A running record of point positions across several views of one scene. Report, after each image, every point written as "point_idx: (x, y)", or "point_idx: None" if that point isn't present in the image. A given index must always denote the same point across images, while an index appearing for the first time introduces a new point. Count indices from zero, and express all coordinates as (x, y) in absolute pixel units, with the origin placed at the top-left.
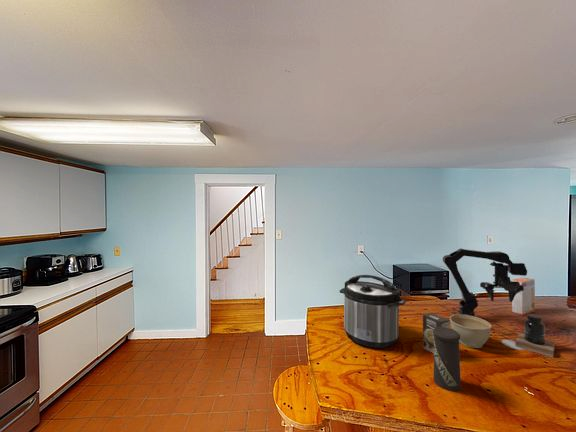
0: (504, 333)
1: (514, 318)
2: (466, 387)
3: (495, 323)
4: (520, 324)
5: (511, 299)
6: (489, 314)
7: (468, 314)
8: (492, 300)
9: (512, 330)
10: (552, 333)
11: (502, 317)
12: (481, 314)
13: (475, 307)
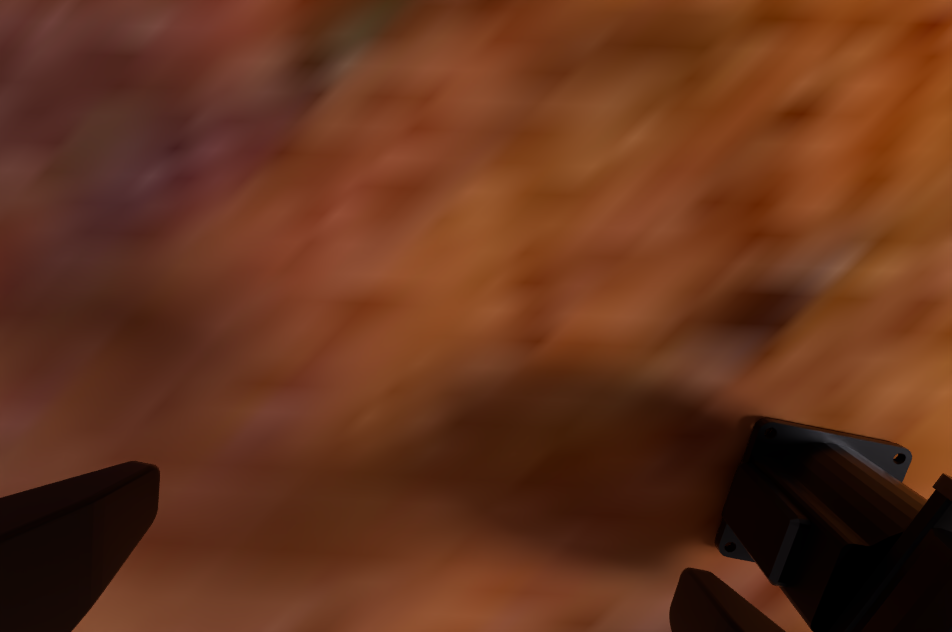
0: (679, 69)
1: None
2: None
3: (526, 362)
4: (223, 317)
5: (86, 501)
6: (373, 603)
7: (910, 491)
8: (724, 586)
9: (485, 153)
10: (26, 43)
11: (282, 516)
12: (475, 610)
13: (947, 536)
